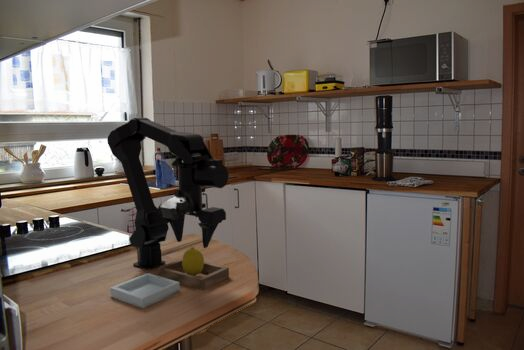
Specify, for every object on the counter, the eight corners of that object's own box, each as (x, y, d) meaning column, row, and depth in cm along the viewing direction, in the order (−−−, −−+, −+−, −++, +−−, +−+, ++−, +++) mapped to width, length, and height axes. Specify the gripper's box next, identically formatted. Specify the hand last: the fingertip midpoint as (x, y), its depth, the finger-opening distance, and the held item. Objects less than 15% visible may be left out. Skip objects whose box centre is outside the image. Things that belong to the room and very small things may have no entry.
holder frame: (158, 277, 113) (158, 267, 113) (185, 265, 121) (185, 257, 121) (202, 290, 104) (202, 280, 104) (228, 277, 112) (228, 267, 112)
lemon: (200, 281, 110) (199, 251, 108) (179, 280, 111) (178, 250, 110) (207, 273, 115) (206, 244, 114) (187, 272, 116) (186, 243, 115)
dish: (110, 296, 101) (110, 287, 101) (148, 281, 110) (148, 272, 110) (142, 308, 95) (142, 298, 95) (179, 291, 104) (179, 282, 104)
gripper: (140, 185, 108) (143, 246, 110) (195, 193, 98) (197, 260, 100) (173, 179, 117) (175, 236, 120) (226, 186, 107) (228, 247, 109)
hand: (192, 244), depth 112 cm, fingers open, 9 cm apart
